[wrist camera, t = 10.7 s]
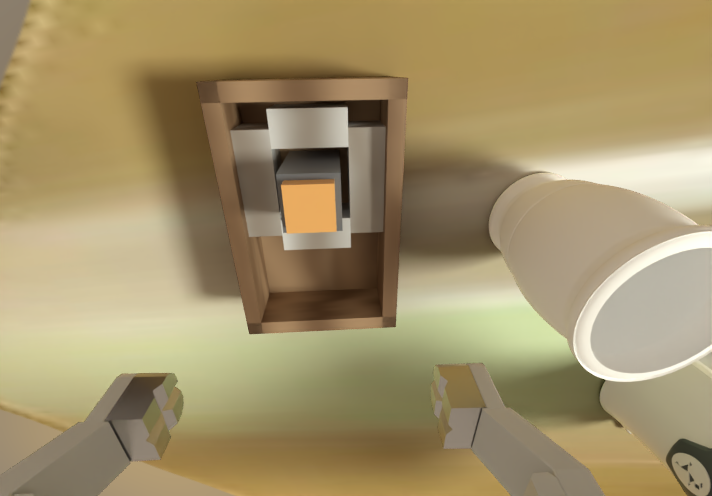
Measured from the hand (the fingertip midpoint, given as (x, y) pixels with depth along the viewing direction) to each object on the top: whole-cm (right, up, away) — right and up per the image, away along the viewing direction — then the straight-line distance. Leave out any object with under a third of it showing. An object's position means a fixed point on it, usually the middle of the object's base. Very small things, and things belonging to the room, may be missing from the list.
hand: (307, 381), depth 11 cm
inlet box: (-2, +8, +20) cm, 21 cm away
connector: (-2, +10, +17) cm, 20 cm away
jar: (+18, +7, +22) cm, 29 cm away
